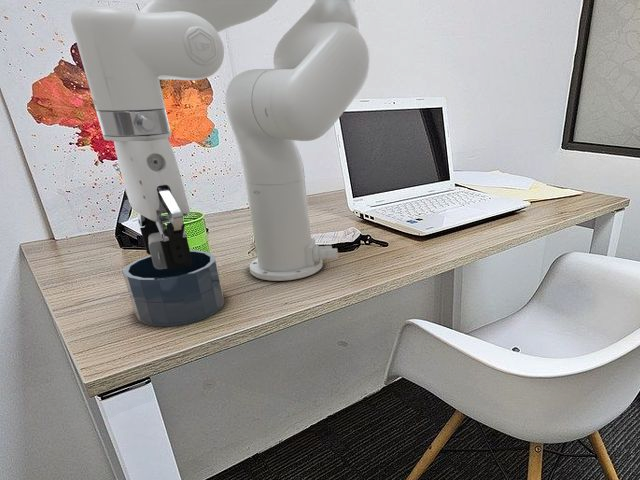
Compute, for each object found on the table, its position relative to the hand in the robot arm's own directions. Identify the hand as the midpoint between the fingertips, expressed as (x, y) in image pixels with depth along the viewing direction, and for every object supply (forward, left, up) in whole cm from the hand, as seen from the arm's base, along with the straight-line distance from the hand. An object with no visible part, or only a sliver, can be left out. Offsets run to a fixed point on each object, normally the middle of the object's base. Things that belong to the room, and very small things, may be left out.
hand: (169, 258), depth 67 cm
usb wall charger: (0, 0, -1) cm, 1 cm away
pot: (0, 0, -8) cm, 8 cm away
